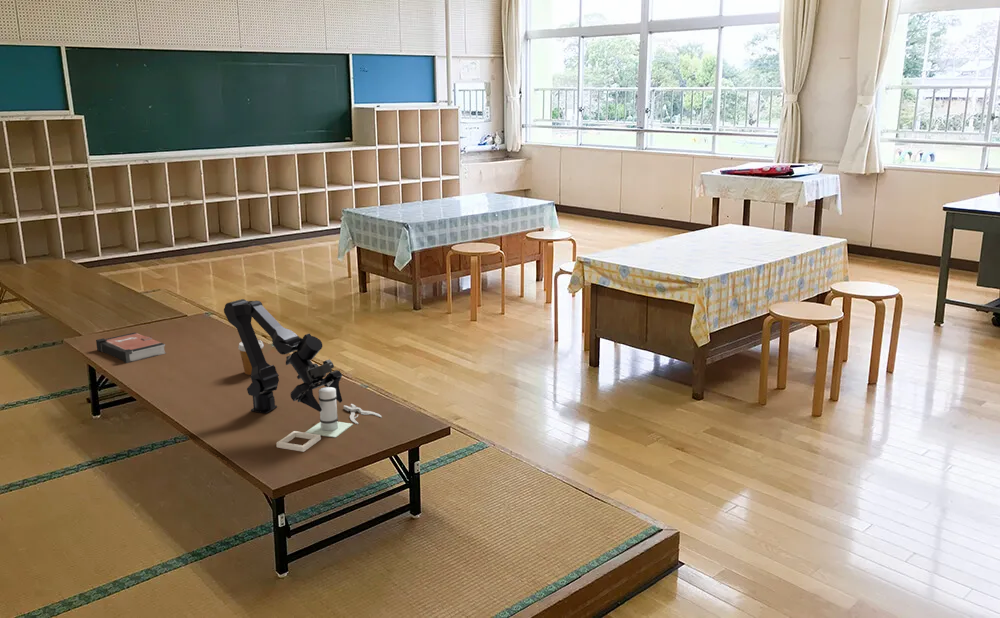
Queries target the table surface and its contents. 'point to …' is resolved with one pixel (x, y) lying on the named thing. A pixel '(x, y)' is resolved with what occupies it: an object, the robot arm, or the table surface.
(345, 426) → the mat
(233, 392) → the table surface
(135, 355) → the book
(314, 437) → the white square frame
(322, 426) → the grey-banded white cylinder
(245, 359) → the disposable coffee cup
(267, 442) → the table surface
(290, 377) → the table surface
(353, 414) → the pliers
